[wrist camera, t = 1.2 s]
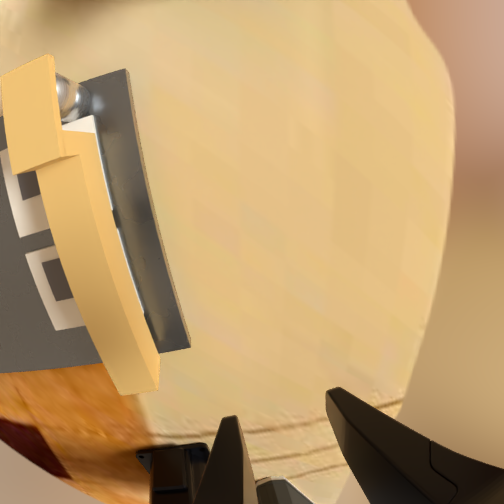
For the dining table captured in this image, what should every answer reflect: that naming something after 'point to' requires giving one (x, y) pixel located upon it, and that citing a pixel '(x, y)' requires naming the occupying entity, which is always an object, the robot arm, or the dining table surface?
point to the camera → (279, 492)
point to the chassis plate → (132, 237)
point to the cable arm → (79, 223)
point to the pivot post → (71, 99)
